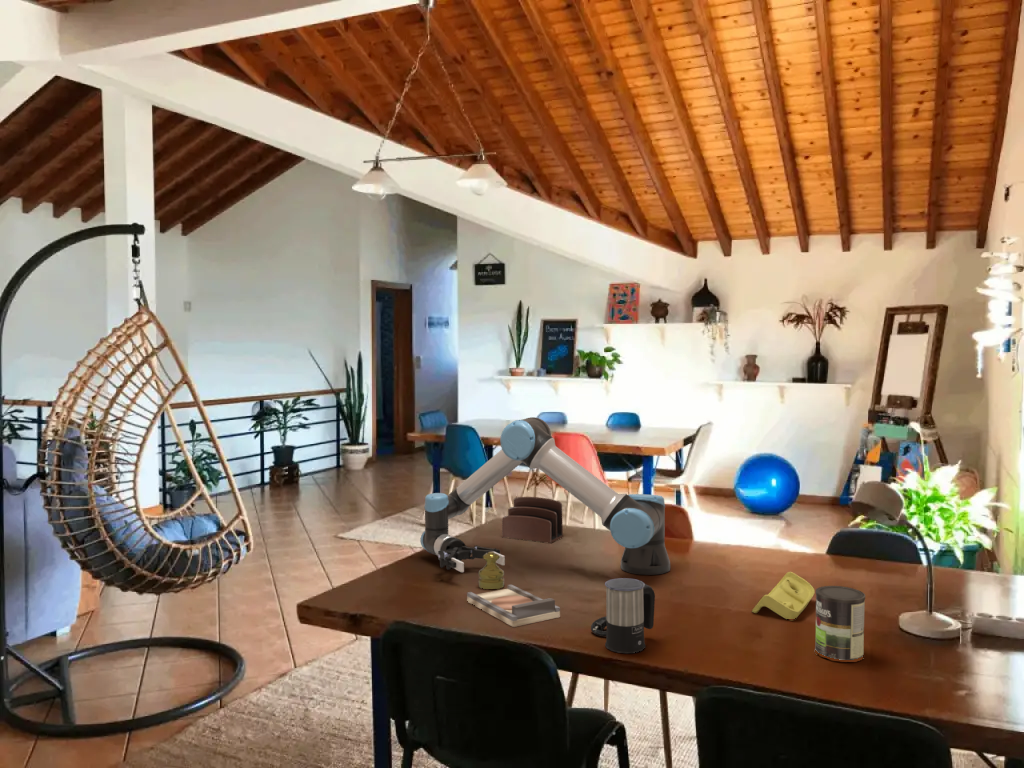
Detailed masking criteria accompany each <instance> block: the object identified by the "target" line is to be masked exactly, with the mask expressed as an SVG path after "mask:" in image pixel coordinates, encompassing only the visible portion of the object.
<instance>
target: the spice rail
mask: <svg viewBox="0 0 1024 768" xmlns="http://www.w3.org/2000/svg"><path fill="white" fill-rule="evenodd" d="M506 585H507V588H504V589H503V588H501V589H497V590H491V591H487V592H482V593H474V592H472V591H469V592H466V602H467V601H468V602H467V603H469V604H470V605H472V604H473V605H472V606H474V605H475V606H474V607H476V608H478V609H480V610H481V609H482V611H483V612H485V613H487V614H489V615H491V616H492V617H495V618H496V619H497V620H499V621H501V622H503V623H505V624H507V625H508V626H510V627H512V628H516V627H521V626H525V625H529V624H530V625H531V624H534V623H538V622H539V623H541V622H543V621H547V620H552V619H558V618H560V617H561V607H560V606H558V605H556V600H555V599H554V598H551V597H550V598H549V597H548V598H541V597H540V596H537V595H534V594H532V593H530V592H529V591H526V590H523V589H522V588H520V587H517V586H515V585H513V584H506Z"/></svg>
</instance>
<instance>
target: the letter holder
mask: <svg viewBox="0 0 1024 768" xmlns="http://www.w3.org/2000/svg"><path fill="white" fill-rule="evenodd" d="M501 523H502V524H501V528H502V530H501V536H502V538H503V537H509V538H508V539H511V538H517V539H516V540H519V539H524V540H523V541H527V540H532V541H531V542H536V541H540V542H539V543H544V542H548V543H547V544H552V542H553V543H555V542H557V541H559V540H561V539H562V537H564V533H563V531H564V530H563V529H564V528H563V504H562V502H561V501H560V500H556V499H552V498H551V499H550V498H547V497H539V496H537V497H536V496H517V497H514V499H513V506H511V507H509V508H508V510H507V515H506V516H505V515H504V516H503V517H502V519H501ZM560 538H561V539H560ZM558 539H559V540H558ZM556 540H557V541H556ZM554 541H555V542H554Z"/></svg>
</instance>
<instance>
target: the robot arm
mask: <svg viewBox="0 0 1024 768" xmlns="http://www.w3.org/2000/svg"><path fill="white" fill-rule="evenodd" d="M499 442H500V447H501V449H500V450H499V451H498V452H496V454H495V455H493V456H492V457H491V458H490V459H489V460H487V461H486V462H485V463H484V464H483V465H482V466H480V467H479V468H478V469H477V470H475V471H474V472H473V473H472V474H470V475H469V477H467V479H465V480H464V481H463V482H461V483H459V485H458V486H457V487H456V488H454V490H453V491H451V492H450V493H448V494H446V493H443V492H435V493H434V492H433V493H428V494H426V495H425V497H424V507H423V508H424V527H425V528H424V531H423V532H422V533H421V536H420V539H419V541H420V544H421V547H422V548H423V549H424V550H426V551H427V552H428V553H429V554H432V555H435V556H437V557H438V558H437V559H438V560H439V567H440V568H445V566H446V570H449V571H450V570H452V569H454V570H456V571H458V572H460V573H464V572H465V566H464V565H465V563H464V562H463V561H462V560H475V559H480V560H481V559H483V555H484V554H486V553H488V552H494V553H496V554H498V555H500V558H499V559H498V560H497V561H496V564H498V565H501V566H505V564H506V559H505V557H506V556H505V555H503V554H501V550H500V549H499V548H496V547H494V548H492V547H483V546H481V545H474V547H473V546H471V547H470V546H467V545H466V544H465V542H464V541H463V540H461V539H459V538H457V537H455V536H453V535H449V520H451V519H453V518H455V517H457V516H460V515H462V514H464V513H465V512H466V511H468V509H469V508H470V507H471V505H472V504H474V503H475V502H476V501H477V500H478V499H480V498H481V497H482V496H484V495H485V494H486V493H487V492H488V491H490V489H492V488H493V487H495V485H497V484H498V483H499V482H500V481H502V480H503V479H504V478H505V477H506V476H508V475H509V474H510V473H511V472H512V471H514V470H515V469H517V467H518V466H520V465H521V464H522V463H523V464H524V465H526V466H527V467H528V468H529V469H531V470H533V469H538V470H540V471H541V472H542V473H544V474H545V475H546V476H548V477H549V478H550V479H551V480H552V481H554V482H555V483H556V484H557V485H559V486H560V487H561V488H563V489H564V490H565V491H567V492H568V493H569V494H570V495H572V496H573V497H574V498H576V499H577V500H578V501H580V502H581V503H582V504H584V505H585V506H586V507H587V508H589V509H590V510H591V511H592V512H593V513H595V514H596V515H598V516H599V517H600V519H601V525H602V526H603V527H604V528H605V529H607V530H609V531H610V534H611V536H612V538H613V540H614V541H615V542H616V543H617V544H618V545H620V546H621V547H623V548H624V549H623V551H622V552H623V553H622V556H621V560H620V569H621V570H622V571H623V572H626V573H628V574H629V573H630V574H635V575H641V576H642V575H643V576H644V575H645V576H654V575H662V574H666V573H668V572H670V571H671V560H670V557H669V554H668V551H667V549H666V544H665V537H666V536H665V532H666V531H665V526H666V525H665V523H666V522H665V520H666V518H665V517H666V516H665V510H666V509H665V508H666V505H665V498H664V497H663V496H662V495H656V494H645V493H644V494H642V493H641V494H639V493H632V494H631V493H629V494H627V493H618V492H616V491H615V490H613V488H611V487H610V486H608V484H606V483H604V482H603V481H602V480H601V479H599V478H598V477H596V476H595V475H594V474H593V473H592V472H590V471H589V470H588V469H586V468H585V467H584V466H582V465H581V464H579V462H577V461H576V460H574V459H573V458H572V457H570V456H569V455H568V454H566V453H565V452H564V451H563V450H561V449H560V448H559V447H557V446H556V442H555V438H554V437H553V436H552V432H551V428H550V426H549V424H548V423H547V422H545V421H544V419H541V418H539V417H532V416H531V417H526V418H524V419H523V418H522V419H516V420H514V421H511V422H510V423H509V424H507V425H505V427H504V428H503V430H502V432H501V434H500V441H499ZM483 560H484V559H483ZM451 568H452V569H451Z"/></svg>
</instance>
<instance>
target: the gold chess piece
mask: <svg viewBox="0 0 1024 768" xmlns="http://www.w3.org/2000/svg"><path fill="white" fill-rule="evenodd" d="M499 558H500V555H498V554H496V553H494V552H488V553H486V554H484V555H483V560H484V561H485V562H486V564H485V565H484V566H483V568H481V569H480V570H479V571H478V587H479V588H480V589H482V588H483V590H485V589H497V590H501V589H503V587H505V578H504V576H505V571H504V569H502V568H500V566H499V565H497V564H498V563H496V561H497V560H498V559H499ZM500 588H501V589H500Z"/></svg>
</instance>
